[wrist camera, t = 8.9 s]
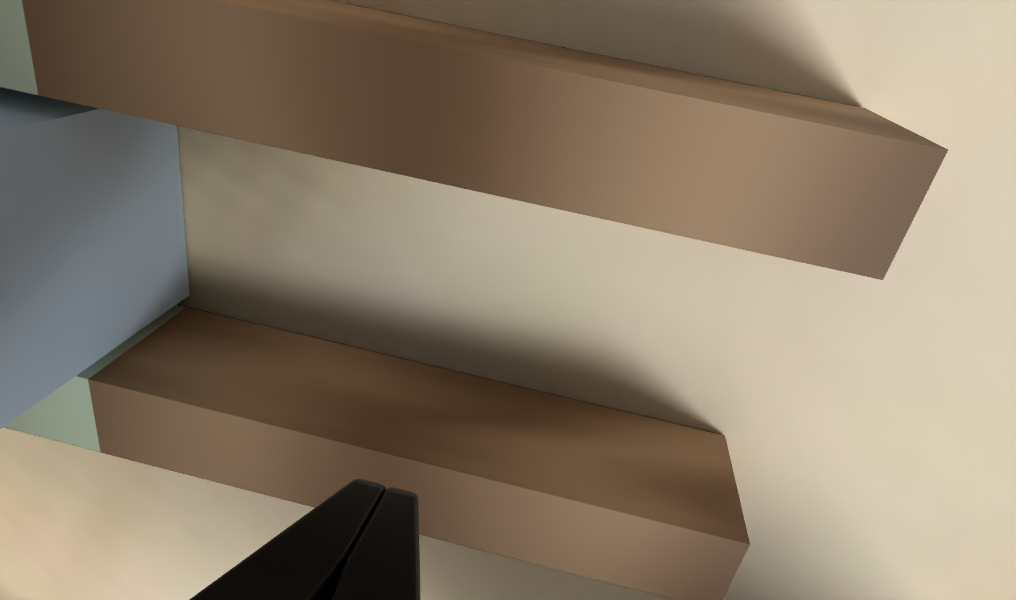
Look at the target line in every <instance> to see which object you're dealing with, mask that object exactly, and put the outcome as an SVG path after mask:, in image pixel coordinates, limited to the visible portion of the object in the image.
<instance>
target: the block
mask: <svg viewBox="0 0 1016 600" xmlns="http://www.w3.org/2000/svg"><path fill="white" fill-rule="evenodd" d="M189 295H190V291H189V278H188V264H187V251H186V238H185V225H184V212H183V198H182V185H181V172H180V159H179V145H178V132H177V126H176V125H172V124H167V123H163V122H158V121H153V120H149V119H144V118H140V117H135V116H131V115H126V114H121V113H117V112H112V111H108V110H103V109H99V108H94V107H89V106H85V105H80V104H76V103H71V102H67V101H62V100H57V99H53V98H48V97H44V96H39V95H35V94H30V93H25V92H21V91H16V90H12V89H7V88H3V87H0V430H1V429H2V428H3V427H5V426H6V425H8V424H9V423H10V422H12V421H13V420H15V419H16V418H17V417H19V416H20V415H22V414H23V413H24V412H26V411H27V410H29V409H30V408H32V407H33V406H34V405H36V404H37V403H39V402H40V401H41V400H43V399H44V398H46V397H47V396H48V395H50V394H51V393H53V392H54V391H55V390H57V389H58V388H60V387H61V386H62V385H64V384H65V383H67V382H68V381H69V380H71V379H72V378H74V377H75V376H77V375H78V374H79V373H81V372H82V371H84V370H85V369H86V368H88V367H89V366H91V365H92V364H93V363H95V362H96V361H98V360H99V359H100V358H102V357H103V356H105V355H106V354H107V353H109V352H110V351H112V350H113V349H114V348H116V347H117V346H119V345H120V344H122V343H123V342H124V341H126V340H127V339H129V338H130V337H131V336H133V335H134V334H136V333H137V332H138V331H140V330H141V329H143V328H144V327H145V326H147V325H148V324H150V323H151V322H152V321H154V320H155V319H157V318H158V317H159V316H161V315H162V314H164V313H165V312H166V311H168V310H169V309H171V308H172V307H174V306H175V305H176V304H178V303H179V302H181V301H182V300H183V299H185V298H186V297H188V296H189Z"/></svg>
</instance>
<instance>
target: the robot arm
mask: <svg viewBox="0 0 1016 600" xmlns="http://www.w3.org/2000/svg"><path fill="white" fill-rule="evenodd" d="M190 600H420V557H419V508H418V496H417V494H416V493H413V492H410V491H406V490H402V489H398V488H394V487H390V488H388V489H387V490H386V487H385V486H384V485H382V484H379V483H375V482H371V481H367V480H363V479H355V480H353V481H351V482H350V483H349V484H347V485H346V486H344V487H343V488H342V489H340V490H339V491H338V492H336V493H335V494H334V495H332V496H331V497H329V498H328V499H327V500H325V501H324V502H323V503H321V504H320V505H318V506H317V507H316V508H314V509H313V510H312V511H310V512H309V513H308V514H306V515H305V516H303V517H302V518H301V519H299V520H298V521H297V522H295V523H294V524H292V525H291V526H290V527H288V528H287V529H286V530H284V531H283V532H281V533H280V534H279V535H277V536H276V537H275V538H273V539H272V540H271V541H269V542H268V543H266V544H265V545H264V546H262V547H261V548H260V549H258V550H257V551H255V552H254V553H253V554H251V555H250V556H249V557H247V558H246V559H245V560H243V561H242V562H240V563H239V564H238V565H236V566H235V567H234V568H232V569H231V570H229V571H228V572H227V573H225V574H224V575H223V576H221V577H220V578H218V579H217V580H216V581H214V582H213V583H212V584H210V585H209V586H208V587H206V588H205V589H203V590H202V591H201V592H199V593H198V594H197V595H195V596H194V597H192V598H191V599H190Z"/></svg>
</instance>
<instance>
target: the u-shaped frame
mask: <svg viewBox="0 0 1016 600" xmlns="http://www.w3.org/2000/svg"><path fill="white" fill-rule="evenodd" d="M0 87H3V88H7V89H12V90H16V91H21V92H25V93H30V94H35V95H39V96H44V97H48V98H53V99H57V100H62V101H67V102H71V103H76V104H80V105H85V106H89V107H94V108H99V109H103V110H108V111H112V112H117V113H121V114H126V115H131V116H135V117H140V118H144V119H149V120H153V121H158V122H163V123H167V124H172V125H176V126H181V127H185V128H190V129H195V130H199V131H204V132H208V133H213V134H217V135H222V136H227V137H231V138H236V139H240V140H245V141H249V142H254V143H259V144H263V145H268V146H272V147H277V148H281V149H286V150H291V151H295V152H300V153H304V154H309V155H314V156H318V157H323V158H327V159H332V160H336V161H341V162H346V163H350V164H355V165H359V166H364V167H368V168H373V169H378V170H382V171H387V172H391V173H396V174H400V175H405V176H410V177H414V178H419V179H423V180H428V181H432V182H437V183H442V184H446V185H451V186H455V187H460V188H464V189H469V190H474V191H478V192H483V193H487V194H492V195H496V196H501V197H506V198H510V199H515V200H519V201H524V202H528V203H533V204H538V205H542V206H547V207H551V208H556V209H560V210H565V211H570V212H574V213H579V214H583V215H588V216H592V217H597V218H602V219H606V220H611V221H615V222H620V223H624V224H629V225H634V226H638V227H643V228H647V229H652V230H657V231H661V232H666V233H670V234H675V235H679V236H684V237H689V238H693V239H698V240H702V241H707V242H711V243H716V244H721V245H725V246H730V247H734V248H739V249H743V250H748V251H753V252H757V253H762V254H766V255H771V256H775V257H780V258H785V259H789V260H794V261H798V262H803V263H807V264H812V265H817V266H821V267H826V268H830V269H835V270H839V271H844V272H849V273H853V274H858V275H862V276H867V277H871V278H876V279H881V280H883V278H884V276H885V274H886V272H887V271H888V269H889V267H890V265H891V263H892V261H893V259H894V257H895V255H896V253H897V251H898V249H899V247H900V245H901V243H902V241H903V239H904V237H905V235H906V233H907V231H908V229H909V227H910V225H911V223H912V221H913V219H914V217H915V215H916V213H917V211H918V209H919V207H920V205H921V203H922V201H923V199H924V197H925V195H926V193H927V191H928V189H929V187H930V185H931V183H932V181H933V179H934V177H935V175H936V173H937V171H938V169H939V167H940V165H941V163H942V161H943V159H944V157H945V155H946V153H947V151H948V149H946V148H944V147H942V146H940V145H938V144H936V143H934V142H932V141H930V140H928V139H926V138H924V137H922V136H920V135H918V134H916V133H914V132H912V131H910V130H908V129H906V128H904V127H902V126H900V125H898V124H896V123H894V122H892V121H889V120H887V119H885V118H883V117H881V116H879V115H877V114H875V113H873V112H871V111H869V110H867V109H865V108H862V107H857V106H852V105H847V104H842V103H837V102H832V101H827V100H822V99H817V98H812V97H807V96H802V95H797V94H792V93H787V92H782V91H777V90H772V89H767V88H762V87H757V86H752V85H747V84H742V83H737V82H732V81H727V80H723V79H718V78H713V77H708V76H703V75H698V74H693V73H688V72H683V71H678V70H673V69H668V68H663V67H658V66H653V65H648V64H643V63H638V62H633V61H628V60H623V59H618V58H613V57H608V56H603V55H598V54H593V53H588V52H583V51H578V50H573V49H568V48H564V47H559V46H554V45H549V44H544V43H539V42H534V41H529V40H524V39H519V38H514V37H509V36H504V35H499V34H494V33H489V32H484V31H479V30H474V29H469V28H464V27H459V26H454V25H449V24H444V23H439V22H434V21H429V20H424V19H419V18H414V17H409V16H404V15H400V14H395V13H390V12H385V11H380V10H375V9H370V8H365V7H360V6H355V5H350V4H345V3H340V2H335V1H330V0H0ZM4 428H8V429H12V430H16V431H20V432H24V433H27V434H31V435H35V436H39V437H43V438H47V439H51V440H55V441H58V442H62V443H66V444H70V445H74V446H78V447H82V448H86V449H90V450H93V451H97V452H101V453H105V454H109V455H113V456H117V457H121V458H125V459H128V460H132V461H136V462H140V463H144V464H148V465H152V466H156V467H160V468H163V469H167V470H171V471H175V472H179V473H183V474H187V475H191V476H195V477H198V478H202V479H206V480H210V481H214V482H218V483H222V484H226V485H229V486H233V487H237V488H241V489H245V490H249V491H253V492H257V493H261V494H264V495H268V496H272V497H276V498H280V499H284V500H288V501H292V502H296V503H299V504H303V505H307V506H311V507H315V508H316V507H317V506H318V505H320V504H321V503H323V502H324V501H325V500H327V499H328V498H329V497H331V496H332V495H334V494H335V493H336V492H338V491H339V490H340V489H342V488H343V487H344V486H346V485H347V484H349V483H350V482H351V481H353V480H355V479H363V480H367V481H371V482H375V483H379V484H382V485H384V486H385V487H386V490H387V489H388V488H390V487H394V488H398V489H402V490H406V491H410V492H413V493H416V494H417V496H418V508H419V534H420V535H424V536H428V537H432V538H435V539H439V540H443V541H447V542H451V543H455V544H459V545H463V546H467V547H470V548H474V549H478V550H482V551H486V552H490V553H494V554H498V555H502V556H505V557H509V558H513V559H517V560H521V561H525V562H529V563H533V564H536V565H540V566H544V567H548V568H552V569H556V570H560V571H564V572H568V573H571V574H575V575H579V576H583V577H587V578H591V579H595V580H599V581H603V582H606V583H610V584H614V585H618V586H622V587H626V588H630V589H634V590H638V591H641V592H645V593H649V594H653V595H657V596H661V597H665V598H669V599H672V600H722V599H723V597H724V595H725V593H726V591H727V589H728V587H729V585H730V583H731V581H732V579H733V577H734V575H735V573H736V571H737V569H738V567H739V565H740V563H741V561H742V559H743V557H744V555H745V553H746V551H747V549H748V547H749V545H750V543H749V539H748V534H747V530H746V526H745V521H744V517H743V513H742V508H741V504H740V499H739V495H738V491H737V486H736V482H735V478H734V473H733V469H732V464H731V460H730V456H729V451H728V447H727V443H726V438H725V436H724V435H720V434H716V433H711V432H707V431H703V430H699V429H695V428H690V427H686V426H682V425H678V424H674V423H669V422H665V421H661V420H657V419H653V418H648V417H644V416H640V415H636V414H632V413H628V412H623V411H619V410H615V409H611V408H607V407H602V406H598V405H594V404H590V403H586V402H581V401H577V400H573V399H569V398H565V397H560V396H556V395H552V394H548V393H544V392H540V391H535V390H531V389H527V388H523V387H519V386H514V385H510V384H506V383H502V382H498V381H493V380H489V379H485V378H481V377H477V376H473V375H468V374H464V373H460V372H456V371H452V370H447V369H443V368H439V367H435V366H431V365H426V364H422V363H418V362H414V361H410V360H405V359H401V358H397V357H393V356H389V355H385V354H380V353H376V352H372V351H368V350H364V349H359V348H355V347H351V346H347V345H343V344H338V343H334V342H330V341H326V340H322V339H317V338H313V337H309V336H305V335H301V334H297V333H292V332H288V331H284V330H280V329H276V328H271V327H267V326H263V325H259V324H255V323H250V322H246V321H242V320H238V319H234V318H230V317H225V316H221V315H217V314H213V313H209V312H204V311H200V310H196V309H192V308H188V307H183V306H179V305H175V306H174V307H172V308H171V309H169V310H168V311H166V312H165V313H164V314H162V315H161V316H159V317H158V318H157V319H155V320H154V321H152V322H151V323H150V324H148V325H147V326H145V327H144V328H143V329H141V330H140V331H138V332H137V333H136V334H134V335H133V336H131V337H130V338H129V339H127V340H126V341H124V342H123V343H122V344H120V345H119V346H117V347H116V348H114V349H113V350H112V351H110V352H109V353H107V354H106V355H105V356H103V357H102V358H100V359H99V360H98V361H96V362H95V363H93V364H92V365H91V366H89V367H88V368H86V369H85V370H84V371H82V372H81V373H79V374H78V375H77V376H75V377H74V378H72V379H71V380H69V381H68V382H67V383H65V384H64V385H62V386H61V387H60V388H58V389H57V390H55V391H54V392H53V393H51V394H50V395H48V396H47V397H46V398H44V399H43V400H41V401H40V402H39V403H37V404H36V405H34V406H33V407H32V408H30V409H29V410H27V411H26V412H24V413H23V414H22V415H20V416H19V417H17V418H16V419H15V420H13V421H12V422H10V423H9V424H8V425H6V426H5V427H4Z"/></svg>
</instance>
